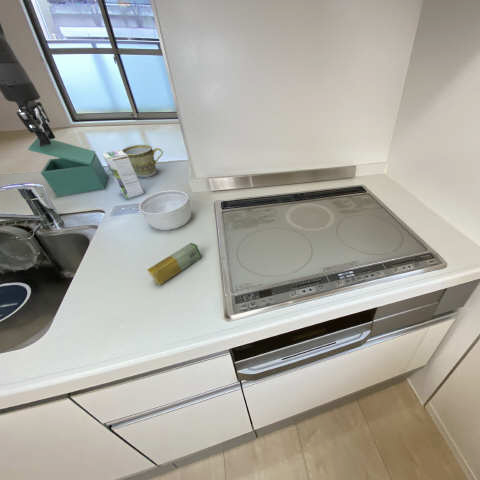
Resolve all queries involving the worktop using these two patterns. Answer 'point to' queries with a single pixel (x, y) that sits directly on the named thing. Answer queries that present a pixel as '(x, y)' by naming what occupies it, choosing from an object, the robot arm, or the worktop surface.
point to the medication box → (174, 263)
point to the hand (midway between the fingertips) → (49, 141)
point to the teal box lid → (63, 150)
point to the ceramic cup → (142, 159)
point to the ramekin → (166, 209)
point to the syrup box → (123, 173)
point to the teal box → (74, 176)
